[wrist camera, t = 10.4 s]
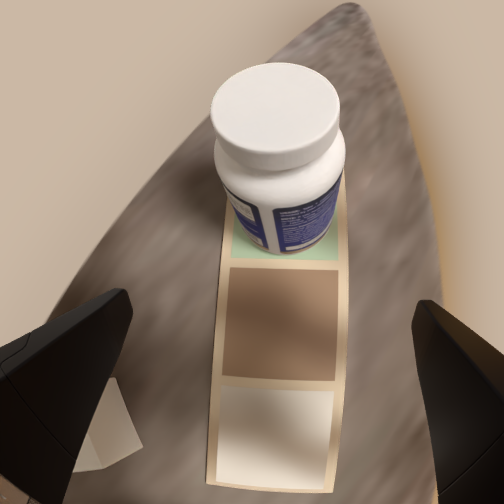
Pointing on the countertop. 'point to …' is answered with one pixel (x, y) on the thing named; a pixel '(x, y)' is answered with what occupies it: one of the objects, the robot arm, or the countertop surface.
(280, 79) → the pill bottle
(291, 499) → the countertop surface
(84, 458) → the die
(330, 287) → the game board
